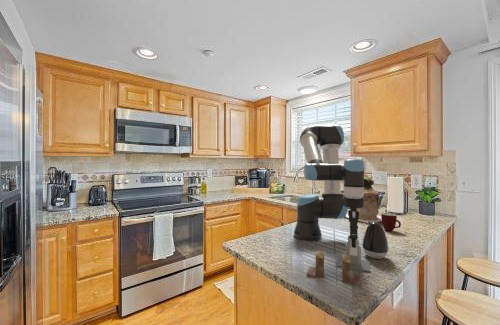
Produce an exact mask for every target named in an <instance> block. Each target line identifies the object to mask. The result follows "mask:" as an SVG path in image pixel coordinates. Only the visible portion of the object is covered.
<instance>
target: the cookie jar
mask: <svg viewBox="0 0 500 325" xmlns="http://www.w3.org/2000/svg"><path fill="white" fill-rule="evenodd" d="M374 184H375V180H373V179H371V177H368V176H364V189H365V190H366V191H365V192H363V193H364V196H363V197H362V198H363V199H364V207H363V208H357V211H359V217H358V222H362V223H365V224H367V225H369V224H368V221H370V222H371V223H372V222H377V223H380V222H381V223H382V219H381V215H379V210H380V209H379V200H380V198H379V192H378V191H377V190H376V189H374V188H373V185H374ZM344 218H347V219H349V216H348V213H347V214H346V216H345V217H344Z"/></svg>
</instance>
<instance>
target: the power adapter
mask: <svg viewBox="0 0 500 325" xmlns="http://www.w3.org/2000/svg"><path fill="white" fill-rule="evenodd" d="M345 255H349V256H350V264H353V265H356V266H360V265H361V260H362V245H361V246H360V241H359V239H358V256H353V255H350V238H348V237H347V243H345Z"/></svg>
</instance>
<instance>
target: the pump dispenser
mask: <svg viewBox="0 0 500 325" xmlns="http://www.w3.org/2000/svg"><path fill="white" fill-rule="evenodd" d="M367 225H368V226H367V227H366V229H365V232H364V234H363V237H362V242H361V243H362V245H361V248H362V249H363V252H364V253H365V255H366V256H368V257H369V258H371V259H375V260H380V259H385V257H386V256H387V254H388V253H389V243H388V238H387V235H386V232H385V229H384V227H383V225H382V224H381V223H380V222H372V223H371V222H370V221H368V224H367Z"/></svg>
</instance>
